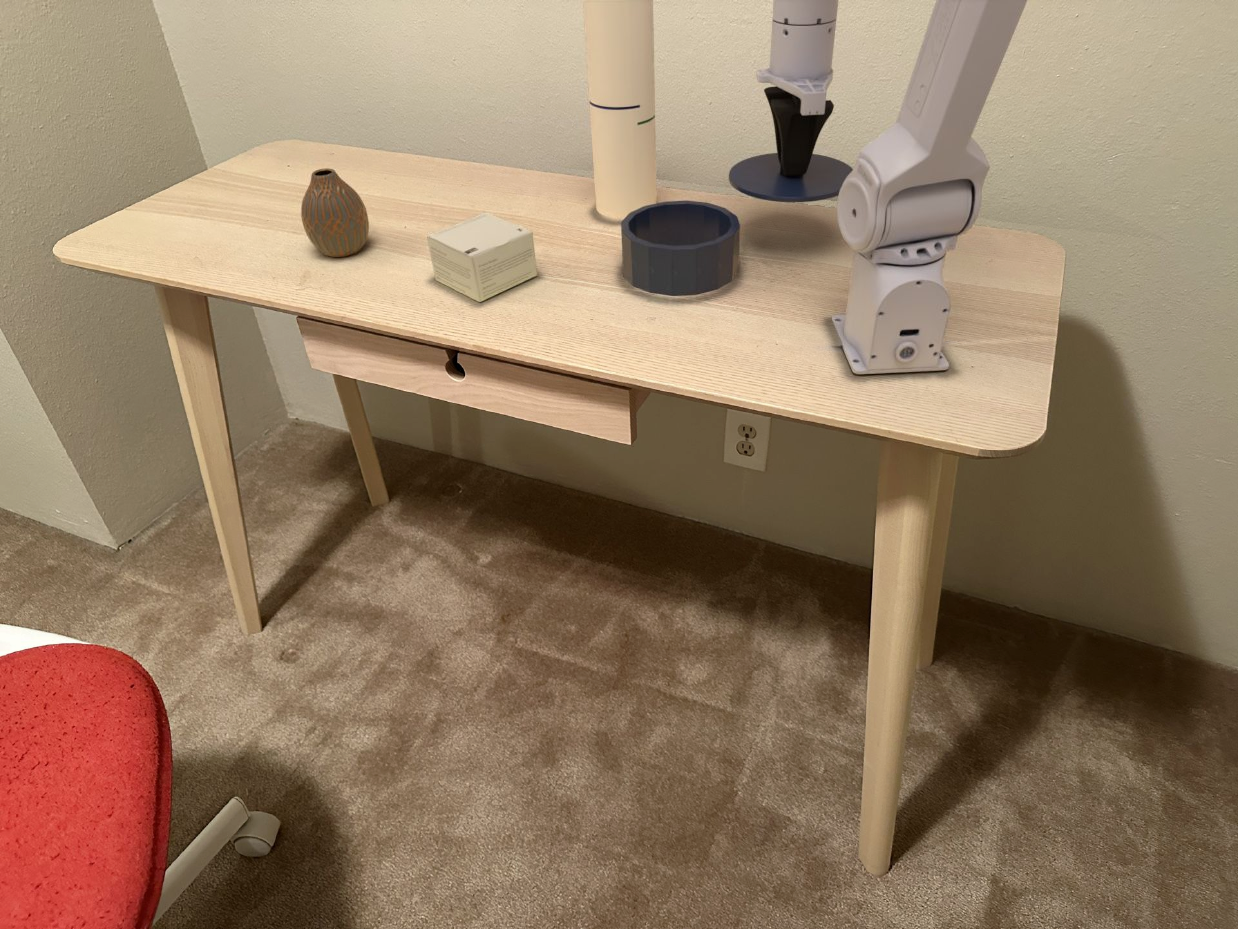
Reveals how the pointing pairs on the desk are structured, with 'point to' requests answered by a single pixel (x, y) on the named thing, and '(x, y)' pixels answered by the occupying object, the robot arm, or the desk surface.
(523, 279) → the small box
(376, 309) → the desk surface
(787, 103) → the robot arm
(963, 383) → the desk surface
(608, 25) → the cylindrical container
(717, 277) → the tin
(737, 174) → the tin lid
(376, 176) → the desk surface
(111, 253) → the desk surface
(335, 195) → the vase
